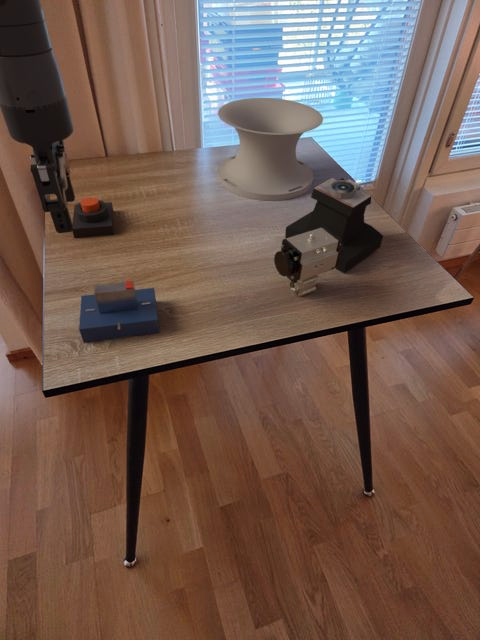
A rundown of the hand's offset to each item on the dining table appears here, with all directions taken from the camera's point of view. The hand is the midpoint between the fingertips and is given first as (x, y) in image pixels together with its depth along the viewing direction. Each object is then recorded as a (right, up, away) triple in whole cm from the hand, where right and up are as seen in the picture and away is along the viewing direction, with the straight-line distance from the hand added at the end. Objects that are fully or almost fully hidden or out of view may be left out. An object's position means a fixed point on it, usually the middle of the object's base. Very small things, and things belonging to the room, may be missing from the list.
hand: (66, 215), depth 61 cm
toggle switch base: (+5, -15, +9) cm, 19 cm away
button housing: (-6, +6, +30) cm, 31 cm away
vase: (+32, +22, +50) cm, 63 cm away
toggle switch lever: (+5, -13, +7) cm, 16 cm away
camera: (+46, +1, +29) cm, 54 cm away
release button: (-6, +8, +28) cm, 29 cm away
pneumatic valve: (+37, -10, +17) cm, 42 cm away
